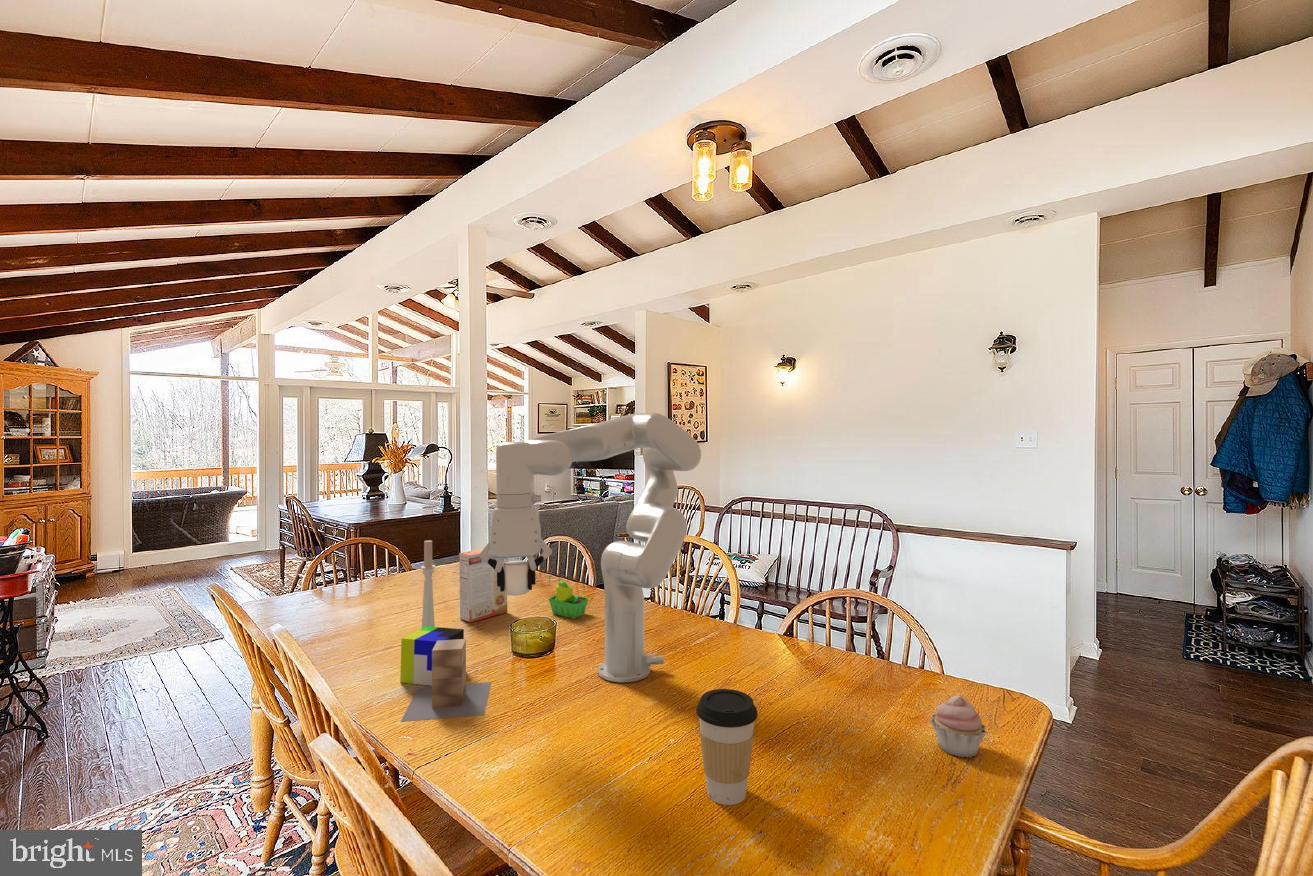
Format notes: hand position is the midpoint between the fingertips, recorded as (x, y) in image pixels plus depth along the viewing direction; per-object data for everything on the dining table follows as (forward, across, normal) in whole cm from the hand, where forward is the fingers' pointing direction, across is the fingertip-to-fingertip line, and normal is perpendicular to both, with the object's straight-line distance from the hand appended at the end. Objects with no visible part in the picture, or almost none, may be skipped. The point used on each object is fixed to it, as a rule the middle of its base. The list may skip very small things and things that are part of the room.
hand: (516, 588), depth 121 cm
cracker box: (+26, +14, -67) cm, 73 cm away
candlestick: (+26, +25, -37) cm, 51 cm away
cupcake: (+27, -80, +29) cm, 90 cm away
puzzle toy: (+26, +21, -21) cm, 39 cm away
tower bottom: (+25, +15, -7) cm, 30 cm away
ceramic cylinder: (+1, 0, 0) cm, 1 cm away
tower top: (+19, +15, -7) cm, 25 cm away
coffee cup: (+26, -34, +34) cm, 55 cm away
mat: (+26, +15, -7) cm, 30 cm away
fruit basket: (+27, -12, -64) cm, 70 cm away
